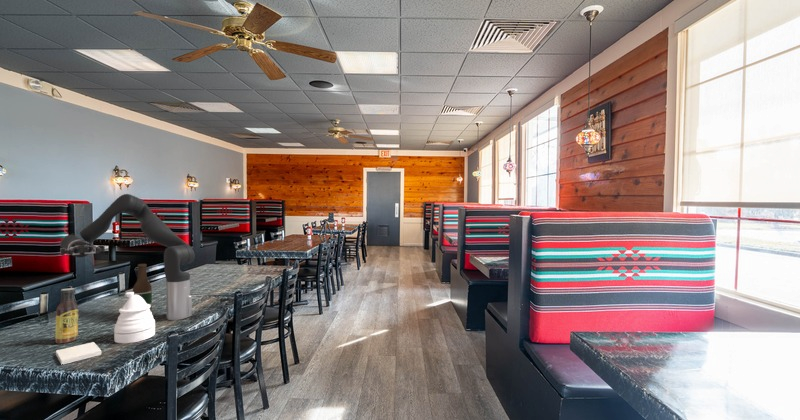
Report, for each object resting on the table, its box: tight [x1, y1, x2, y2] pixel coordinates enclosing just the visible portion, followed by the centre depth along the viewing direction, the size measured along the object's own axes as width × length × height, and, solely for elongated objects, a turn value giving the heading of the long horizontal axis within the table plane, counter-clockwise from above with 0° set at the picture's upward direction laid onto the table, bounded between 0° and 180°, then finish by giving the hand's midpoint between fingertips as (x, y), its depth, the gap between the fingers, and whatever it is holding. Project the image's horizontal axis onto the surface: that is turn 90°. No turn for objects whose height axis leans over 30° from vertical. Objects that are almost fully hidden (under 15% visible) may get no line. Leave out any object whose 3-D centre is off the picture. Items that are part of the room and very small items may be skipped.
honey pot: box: [113, 291, 156, 344], centre depth 136 cm, size 13×13×18 cm
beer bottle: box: [132, 263, 153, 312], centre depth 163 cm, size 8×8×24 cm
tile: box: [55, 341, 102, 366], centre depth 120 cm, size 10×2×12 cm
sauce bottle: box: [54, 287, 79, 344], centre depth 131 cm, size 6×6×20 cm
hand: (85, 251), depth 147 cm, fingers open, 8 cm apart
